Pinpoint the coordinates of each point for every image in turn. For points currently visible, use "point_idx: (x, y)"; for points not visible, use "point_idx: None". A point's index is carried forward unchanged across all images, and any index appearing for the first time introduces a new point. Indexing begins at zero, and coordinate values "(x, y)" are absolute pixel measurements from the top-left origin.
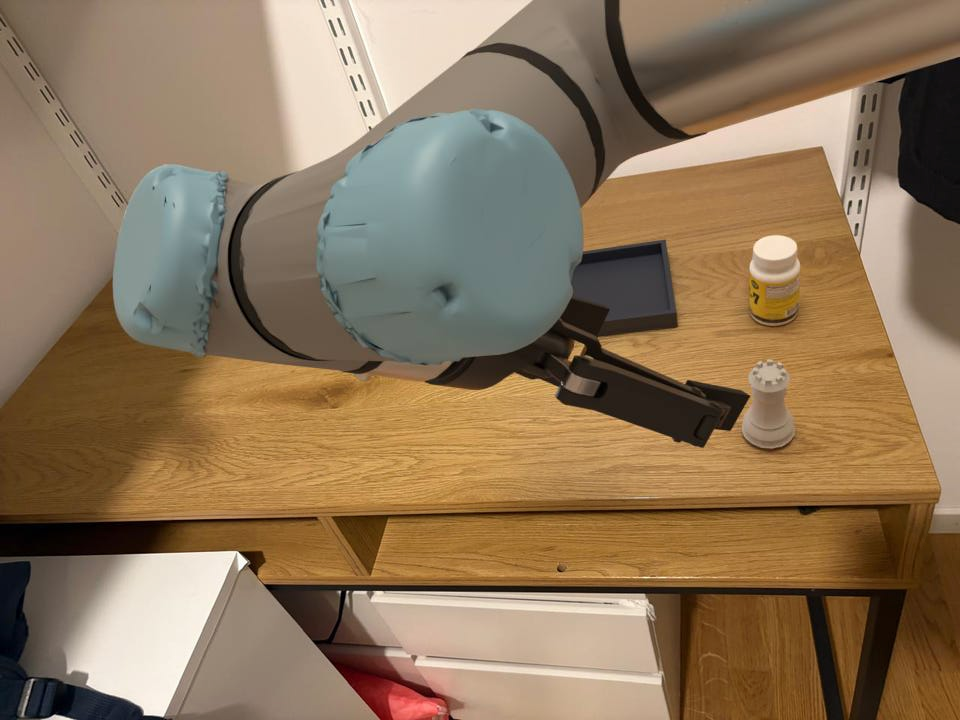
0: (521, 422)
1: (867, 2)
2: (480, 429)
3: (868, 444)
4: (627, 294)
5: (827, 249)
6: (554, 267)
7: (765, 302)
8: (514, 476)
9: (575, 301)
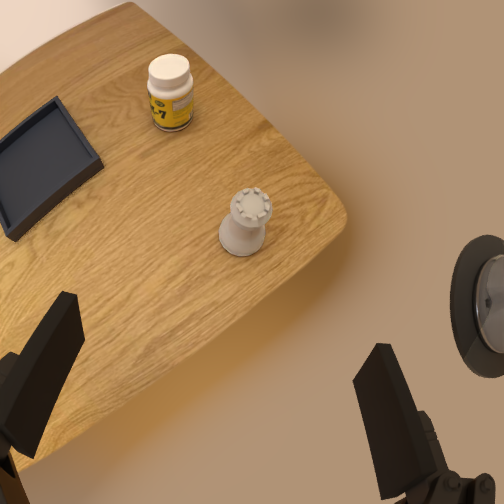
0: None
1: None
2: None
3: (309, 207)
4: (47, 159)
5: None
6: None
7: (172, 114)
8: (81, 404)
9: (34, 371)
